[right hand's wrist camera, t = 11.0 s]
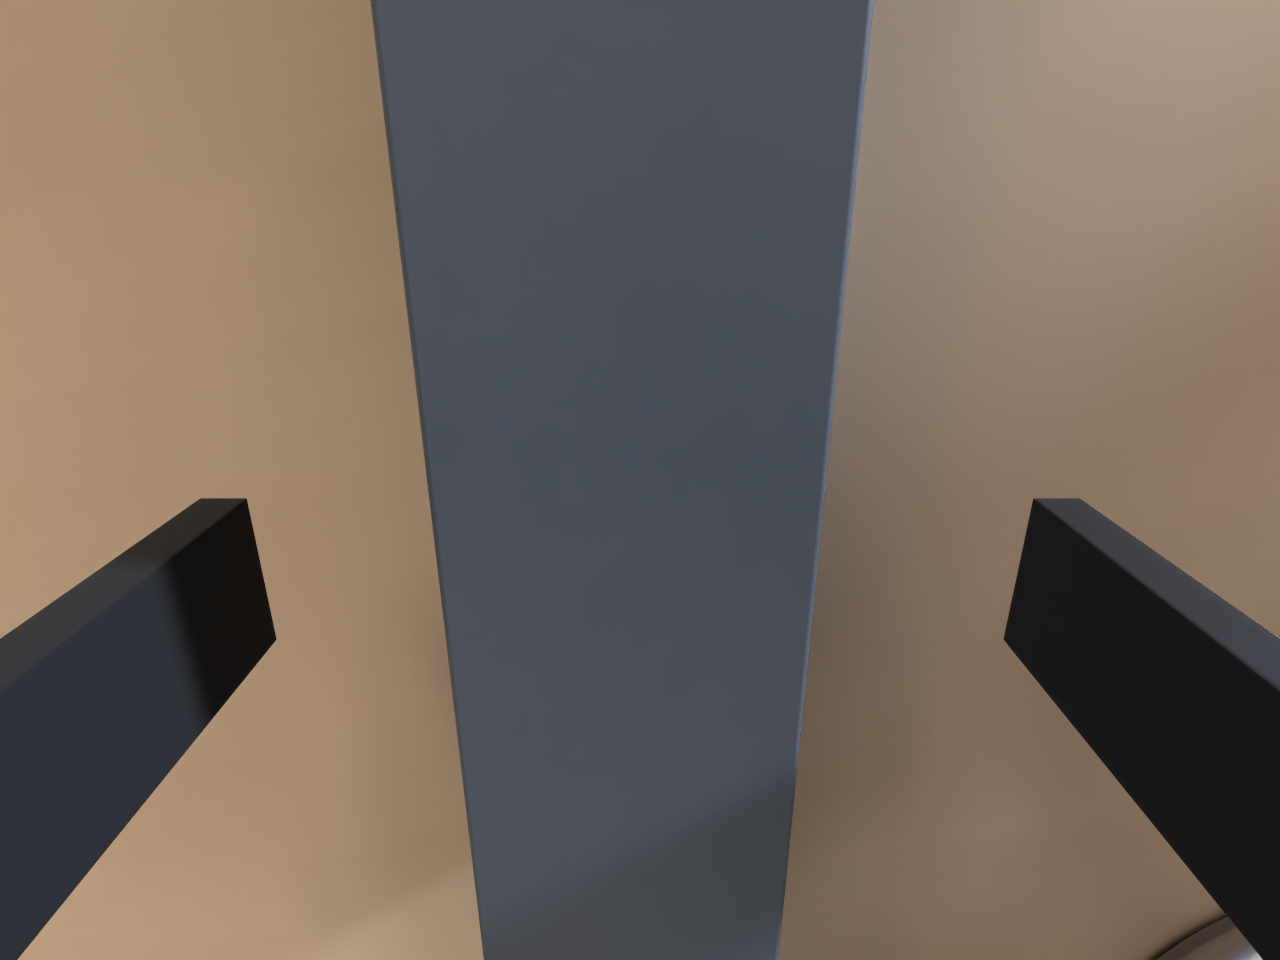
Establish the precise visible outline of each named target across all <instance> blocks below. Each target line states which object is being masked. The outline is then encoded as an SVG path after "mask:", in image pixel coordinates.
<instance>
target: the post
mask: <svg viewBox="0 0 1280 960" xmlns="http://www.w3.org/2000/svg"><path fill="white" fill-rule="evenodd" d="M370 1H371V9H372V18H373V26H374V35H375V43H376V51H377V60H378V68H379V77H380V85H381V94H382V102H383V111H384V119H385V127H386V136H387V144H388V153H389V161H390V170H391V178H392V187H393V195H394V203H395V212H396V220H397V229H398V237H399V246H400V254H401V263H402V271H403V279H404V288H405V296H406V305H407V313H408V322H409V330H410V339H411V347H412V355H413V364H414V372H415V381H416V389H417V398H418V406H419V415H420V423H421V431H422V440H423V448H424V457H425V465H426V474H427V482H428V491H429V499H430V508H431V516H432V524H433V533H434V541H435V550H436V558H437V567H438V575H439V584H440V592H441V600H442V609H443V617H444V626H445V634H446V643H447V651H448V660H449V668H450V676H451V685H452V693H453V702H454V710H455V719H456V727H457V736H458V744H459V752H460V761H461V769H462V778H463V786H464V795H465V803H466V812H467V820H468V828H469V837H470V845H471V854H472V862H473V871H474V879H475V888H476V896H477V904H478V913H479V921H480V930H481V938H482V947H483V955H484V960H778V954H779V944H780V934H781V924H782V914H783V904H784V894H785V884H786V874H787V864H788V854H789V844H790V834H791V824H792V814H793V804H794V794H795V784H796V774H797V764H798V754H799V744H800V734H801V724H802V714H803V704H804V694H805V684H806V674H807V664H808V654H809V644H810V634H811V624H812V614H813V604H814V594H815V584H816V574H817V564H818V554H819V544H820V534H821V524H822V514H823V504H824V494H825V484H826V474H827V464H828V454H829V444H830V434H831V424H832V414H833V404H834V394H835V384H836V374H837V364H838V354H839V344H840V334H841V324H842V314H843V304H844V294H845V284H846V274H847V264H848V254H849V244H850V234H851V224H852V214H853V204H854V194H855V184H856V174H857V164H858V154H859V144H860V134H861V124H862V114H863V104H864V94H865V84H866V74H867V64H868V54H869V44H870V34H871V24H872V14H873V4H874V0H370Z"/></svg>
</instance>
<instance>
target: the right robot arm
mask: <svg viewBox="0 0 1280 960" xmlns="http://www.w3.org/2000/svg"><path fill="white" fill-rule="evenodd" d="M275 641H276V635H275V630H274V626H273V621H272V616H271V611H270V607H269V602H268V597H267V593H266V588H265V583H264V579H263V574H262V569H261V564H260V560H259V555H258V550H257V546H256V541H255V536H254V531H253V527H252V522H251V517H250V513H249V508H248V503H247V499H199V500H198V501H196V502H195V503H193V504H192V505H191V506H189V507H188V508H186V509H185V510H183V511H182V512H181V513H179V514H178V515H176V516H175V517H173V518H172V519H171V520H169V521H168V522H166V523H165V524H164V525H162V526H161V527H159V528H158V529H156V530H155V531H154V532H152V533H151V534H149V535H148V536H146V537H145V538H144V539H142V540H141V541H139V542H138V543H136V544H135V545H134V546H132V547H131V548H129V549H128V550H126V551H125V552H124V553H122V554H121V555H119V556H118V557H116V558H115V559H114V560H112V561H111V562H109V563H108V564H106V565H105V566H104V567H102V568H101V569H99V570H98V571H97V572H95V573H94V574H92V575H91V576H89V577H88V578H87V579H85V580H84V581H82V582H81V583H79V584H78V585H77V586H75V587H74V588H72V589H71V590H69V591H68V592H67V593H65V594H64V595H62V596H61V597H59V598H58V599H57V600H55V601H54V602H52V603H51V604H49V605H48V606H47V607H45V608H44V609H42V610H41V611H39V612H38V613H37V614H35V615H34V616H32V617H31V618H30V619H28V620H27V621H25V622H24V623H22V624H21V625H20V626H18V627H17V628H15V629H14V630H12V631H11V632H10V633H8V634H7V635H5V636H4V637H2V638H1V639H0V960H17V959H18V958H19V957H20V956H21V954H22V953H23V952H24V951H25V949H26V948H27V947H28V946H29V944H30V943H31V942H32V941H33V940H34V938H35V937H36V936H37V935H38V933H39V932H40V931H41V930H42V928H43V927H44V926H45V925H46V923H47V922H48V921H49V920H50V919H51V917H52V916H53V915H54V914H55V912H56V911H57V910H58V909H59V907H60V906H61V905H62V904H63V902H64V901H65V900H66V899H67V898H68V896H69V895H70V894H71V893H72V891H73V890H74V889H75V888H76V886H77V885H78V884H79V883H80V881H81V880H82V879H83V878H84V877H85V875H86V874H87V873H88V872H89V870H90V869H91V868H92V867H93V865H94V864H95V863H96V862H97V860H98V859H99V858H100V857H101V856H102V854H103V853H104V852H105V851H106V849H107V848H108V847H109V846H110V844H111V843H112V842H113V841H114V839H115V838H116V837H117V836H118V835H119V833H120V832H121V831H122V830H123V828H124V827H125V826H126V825H127V823H128V822H129V821H130V820H131V818H132V817H133V816H134V815H135V814H136V812H137V811H138V810H139V809H140V807H141V806H142V805H143V804H144V802H145V801H146V800H147V799H148V797H149V796H150V795H151V794H152V793H153V791H154V790H155V789H156V788H157V786H158V785H159V784H160V783H161V781H162V780H163V779H164V778H165V776H166V775H167V774H168V773H169V772H170V770H171V769H172V768H173V767H174V765H175V764H176V763H177V762H178V760H179V759H180V758H181V757H182V755H183V754H184V753H185V752H186V751H187V749H188V748H189V747H190V746H191V744H192V743H193V742H194V741H195V739H196V738H197V737H198V736H199V734H200V733H201V732H202V731H203V730H204V728H205V727H206V726H207V725H208V723H209V722H210V721H211V720H212V718H213V717H214V716H215V715H216V713H217V712H218V711H219V710H220V709H221V707H222V706H223V705H224V704H225V702H226V701H227V700H228V699H229V697H230V696H231V695H232V694H233V692H234V691H235V690H236V689H237V688H238V686H239V685H240V684H241V683H242V681H243V680H244V679H245V678H246V676H247V675H248V674H249V673H250V671H251V670H252V669H253V668H254V667H255V665H256V664H257V663H258V662H259V660H260V659H261V658H262V657H263V655H264V654H265V653H266V652H267V650H268V649H269V648H270V647H271V646H272V644H273V643H274V642H275ZM1004 641H1005V642H1006V643H1007V644H1008V646H1009V647H1010V648H1011V649H1012V650H1013V652H1014V653H1015V654H1016V655H1017V657H1018V658H1019V659H1020V660H1021V662H1022V663H1023V664H1024V665H1025V667H1026V668H1027V669H1028V670H1029V671H1030V673H1031V674H1032V675H1033V676H1034V678H1035V679H1036V680H1037V681H1038V683H1039V684H1040V685H1041V686H1042V688H1043V689H1044V690H1045V691H1046V692H1047V694H1048V695H1049V696H1050V697H1051V699H1052V700H1053V701H1054V702H1055V704H1056V705H1057V706H1058V707H1059V709H1060V710H1061V711H1062V712H1063V713H1064V715H1065V716H1066V717H1067V718H1068V720H1069V721H1070V722H1071V723H1072V725H1073V726H1074V727H1075V728H1076V730H1077V731H1078V732H1079V733H1080V734H1081V736H1082V737H1083V738H1084V739H1085V741H1086V742H1087V743H1088V744H1089V746H1090V747H1091V748H1092V749H1093V751H1094V752H1095V753H1096V754H1097V755H1098V757H1099V758H1100V759H1101V760H1102V762H1103V763H1104V764H1105V765H1106V767H1107V768H1108V769H1109V770H1110V772H1111V773H1112V774H1113V775H1114V776H1115V778H1116V779H1117V780H1118V781H1119V783H1120V784H1121V785H1122V786H1123V788H1124V789H1125V790H1126V791H1127V793H1128V794H1129V795H1130V796H1131V797H1132V799H1133V800H1134V801H1135V802H1136V804H1137V805H1138V806H1139V807H1140V809H1141V810H1142V811H1143V812H1144V814H1145V815H1146V816H1147V817H1148V818H1149V820H1150V821H1151V822H1152V823H1153V825H1154V826H1155V827H1156V828H1157V830H1158V831H1159V832H1160V833H1161V835H1162V836H1163V837H1164V838H1165V839H1166V841H1167V842H1168V843H1169V844H1170V846H1171V847H1172V848H1173V849H1174V851H1175V852H1176V853H1177V854H1178V856H1179V857H1180V858H1181V859H1182V860H1183V862H1184V863H1185V864H1186V865H1187V867H1188V868H1189V869H1190V870H1191V872H1192V873H1193V874H1194V875H1195V877H1196V878H1197V879H1198V880H1199V881H1200V883H1201V884H1202V885H1203V886H1204V888H1205V889H1206V890H1207V891H1208V893H1209V894H1210V895H1211V896H1212V898H1213V899H1214V900H1215V901H1216V902H1217V904H1218V905H1219V906H1220V907H1221V909H1222V910H1223V911H1224V912H1225V914H1226V915H1227V917H1225V918H1223V919H1221V920H1219V921H1217V922H1215V923H1213V924H1211V925H1209V926H1207V927H1206V928H1204V929H1202V930H1200V931H1199V932H1197V933H1195V934H1193V935H1192V936H1190V937H1189V938H1187V939H1185V940H1184V941H1182V942H1181V943H1179V944H1178V945H1176V946H1175V947H1173V948H1172V949H1170V950H1169V951H1168V952H1166V953H1165V954H1163V955H1162V956H1161V957H1160V958H1158V959H1157V960H1280V639H1279V638H1278V637H1276V636H1275V635H1273V634H1272V633H1270V632H1269V631H1268V630H1266V629H1265V628H1263V627H1262V626H1260V625H1259V624H1258V623H1256V622H1255V621H1253V620H1252V619H1250V618H1249V617H1248V616H1246V615H1245V614H1243V613H1242V612H1241V611H1239V610H1238V609H1236V608H1235V607H1233V606H1232V605H1231V604H1229V603H1228V602H1226V601H1225V600H1223V599H1222V598H1221V597H1219V596H1218V595H1216V594H1215V593H1213V592H1212V591H1211V590H1209V589H1208V588H1206V587H1205V586H1203V585H1202V584H1201V583H1199V582H1198V581H1196V580H1195V579H1193V578H1192V577H1191V576H1189V575H1188V574H1186V573H1185V572H1183V571H1182V570H1181V569H1179V568H1178V567H1176V566H1175V565H1174V564H1172V563H1171V562H1169V561H1168V560H1166V559H1165V558H1164V557H1162V556H1161V555H1159V554H1158V553H1156V552H1155V551H1154V550H1152V549H1151V548H1149V547H1148V546H1146V545H1145V544H1144V543H1142V542H1141V541H1139V540H1138V539H1136V538H1135V537H1134V536H1132V535H1131V534H1129V533H1128V532H1126V531H1125V530H1124V529H1122V528H1121V527H1119V526H1118V525H1116V524H1115V523H1114V522H1112V521H1111V520H1109V519H1108V518H1107V517H1105V516H1104V515H1102V514H1101V513H1099V512H1098V511H1097V510H1095V509H1094V508H1092V507H1091V506H1089V505H1088V504H1087V503H1085V502H1084V501H1082V500H1081V499H1033V503H1032V508H1031V513H1030V517H1029V522H1028V527H1027V531H1026V536H1025V541H1024V546H1023V550H1022V555H1021V560H1020V564H1019V569H1018V574H1017V579H1016V583H1015V588H1014V593H1013V597H1012V602H1011V607H1010V611H1009V616H1008V621H1007V626H1006V630H1005V635H1004Z"/></svg>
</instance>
